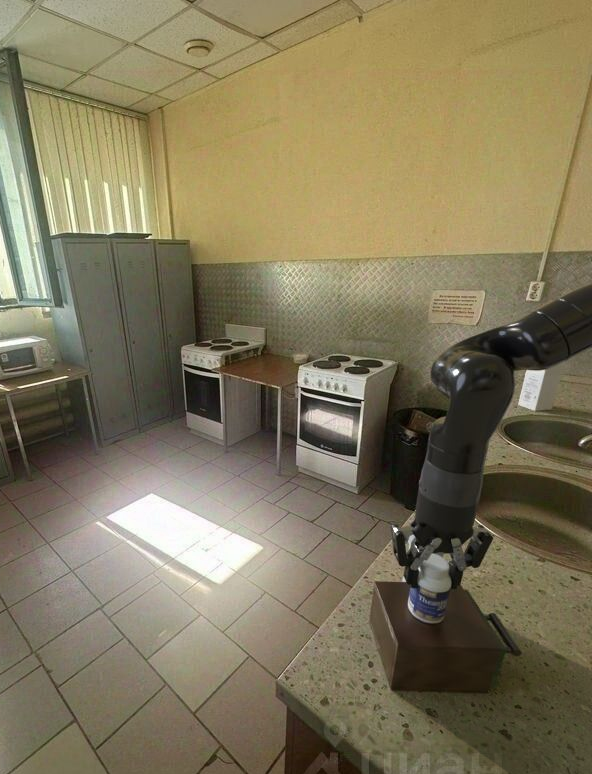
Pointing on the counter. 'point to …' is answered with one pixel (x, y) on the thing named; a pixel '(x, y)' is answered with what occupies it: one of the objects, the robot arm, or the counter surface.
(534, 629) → the counter surface
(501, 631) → the drawer
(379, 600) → the cabinet
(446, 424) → the robot arm
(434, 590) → the pill bottle
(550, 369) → the tall white carton
